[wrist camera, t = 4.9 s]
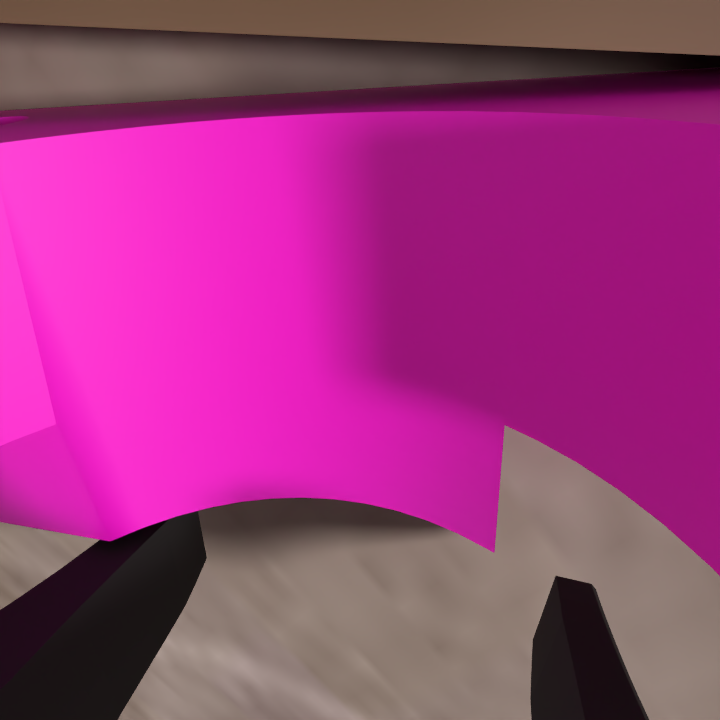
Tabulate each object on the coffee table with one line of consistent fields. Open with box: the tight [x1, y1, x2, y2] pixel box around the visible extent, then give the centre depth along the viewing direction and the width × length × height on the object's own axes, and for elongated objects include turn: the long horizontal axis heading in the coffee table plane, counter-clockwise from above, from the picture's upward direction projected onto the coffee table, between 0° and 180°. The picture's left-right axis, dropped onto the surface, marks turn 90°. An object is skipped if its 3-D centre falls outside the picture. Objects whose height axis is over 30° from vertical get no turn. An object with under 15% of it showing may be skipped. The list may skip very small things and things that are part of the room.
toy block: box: [0, 67, 720, 576], centre depth 7 cm, size 15×6×8 cm, turn 94°
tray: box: [0, 0, 720, 55], centre depth 9 cm, size 11×23×2 cm, turn 88°
